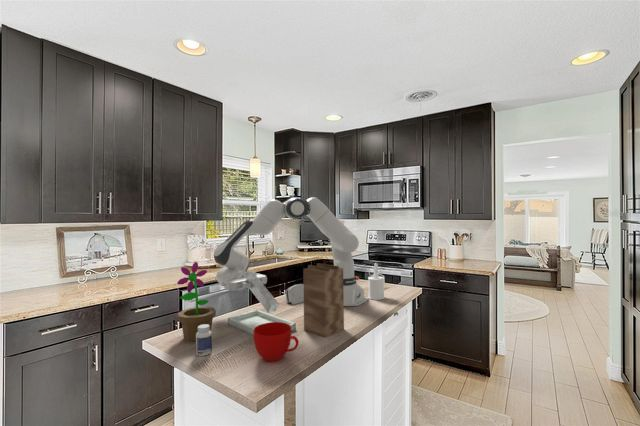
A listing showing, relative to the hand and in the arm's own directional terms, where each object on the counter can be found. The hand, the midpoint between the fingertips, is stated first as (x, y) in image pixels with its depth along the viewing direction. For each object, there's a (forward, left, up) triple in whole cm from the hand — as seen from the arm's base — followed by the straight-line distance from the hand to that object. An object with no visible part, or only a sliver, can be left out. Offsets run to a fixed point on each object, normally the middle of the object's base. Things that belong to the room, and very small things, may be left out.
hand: (255, 284), depth 140 cm
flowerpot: (+24, -7, -18) cm, 31 cm away
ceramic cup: (+14, +32, -18) cm, 39 cm away
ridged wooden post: (-16, +26, -18) cm, 36 cm away
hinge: (-39, -14, -18) cm, 45 cm away
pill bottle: (+29, +9, -18) cm, 35 cm away
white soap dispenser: (-72, +16, -18) cm, 76 cm away
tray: (0, +3, -18) cm, 18 cm away
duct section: (0, +3, -4) cm, 5 cm away
